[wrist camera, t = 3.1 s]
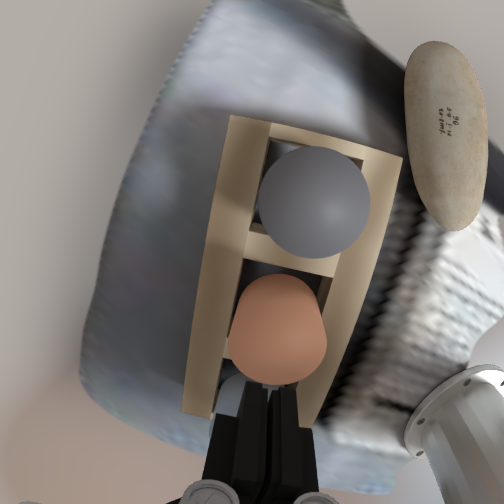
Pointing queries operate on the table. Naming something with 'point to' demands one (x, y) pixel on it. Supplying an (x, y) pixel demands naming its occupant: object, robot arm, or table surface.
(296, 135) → the birch board
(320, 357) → the terracotta button
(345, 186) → the charcoal button
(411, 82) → the stone
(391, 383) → the table surface
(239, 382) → the slate button
